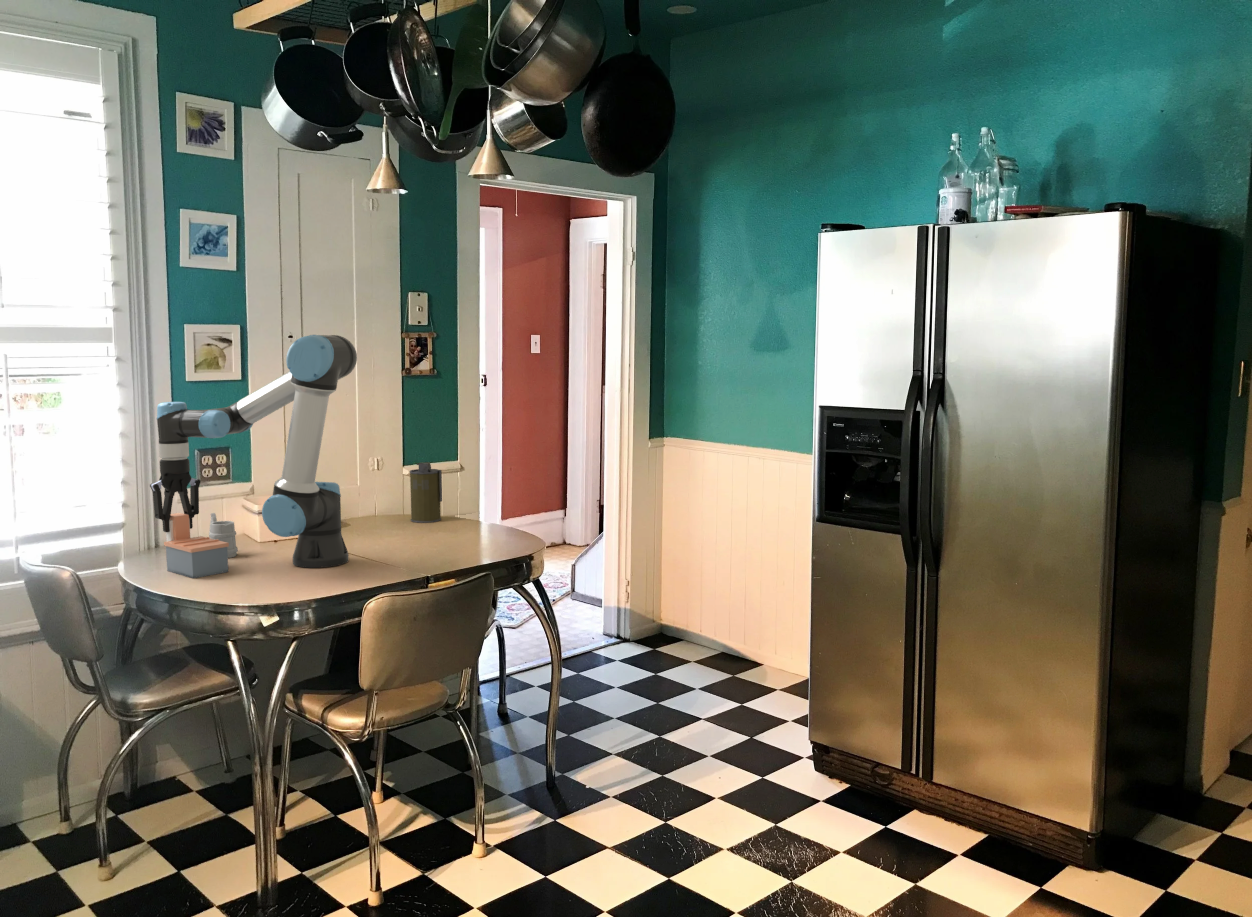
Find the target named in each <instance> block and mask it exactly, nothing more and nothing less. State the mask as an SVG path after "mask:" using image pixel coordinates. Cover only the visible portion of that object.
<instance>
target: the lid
mask: <svg viewBox="0 0 1252 917" xmlns="http://www.w3.org/2000/svg"><path fill="white" fill-rule="evenodd" d="M170 520H172V521H173V534H174V540H173V541H163V544H164V545H163V546H165V547H166V546H168V547H172V548H175V549H179V550H183V551H187V552H190V553H193V552H199V551H205V550H211V549H217V548H223V547H229V543H227V542H223V541H219V539H216V540H215V539H211V538H210V537H209V536H201V535H199V536H194V537H191V529H190V530H189V515H188V514H184V512H183V513H182V512H176V513H171V515H170Z"/></svg>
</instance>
